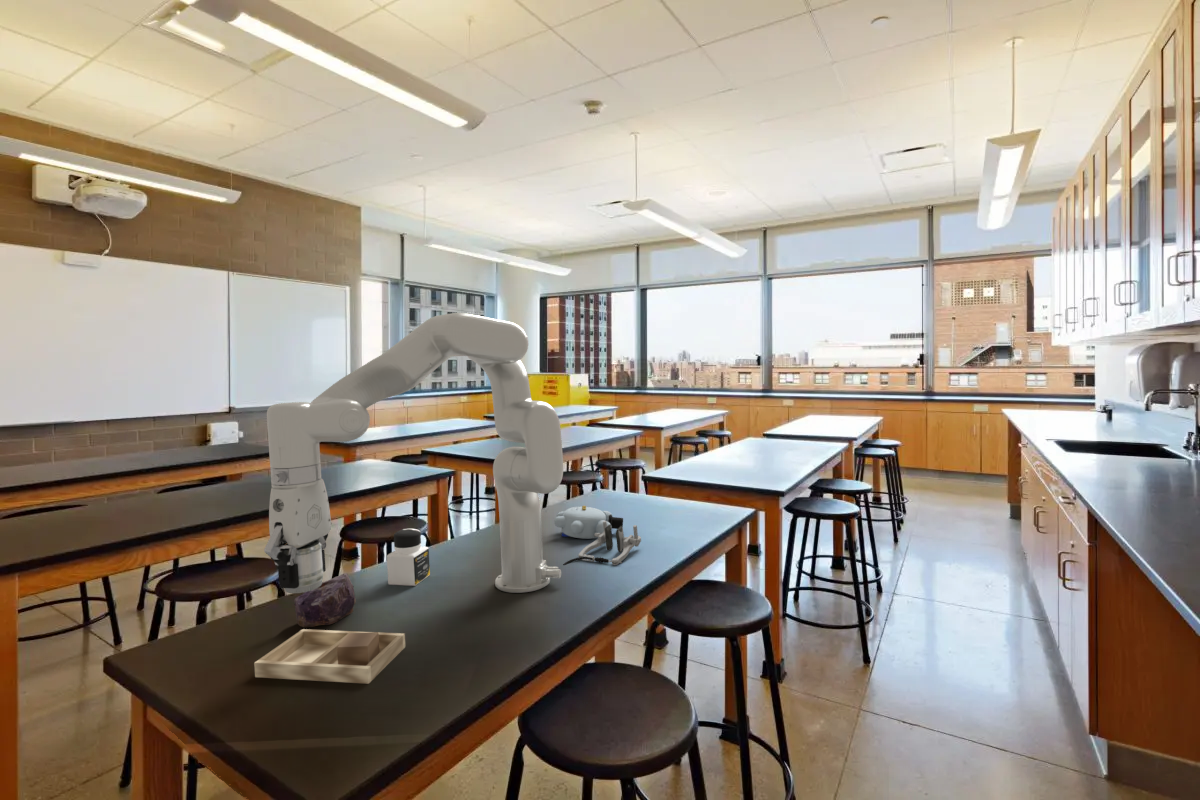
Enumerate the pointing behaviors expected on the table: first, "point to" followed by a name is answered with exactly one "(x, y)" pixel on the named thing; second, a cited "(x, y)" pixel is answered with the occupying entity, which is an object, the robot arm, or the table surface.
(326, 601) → the rock
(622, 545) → the bike brake
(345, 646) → the walnut block
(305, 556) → the camera lens
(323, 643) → the caddy
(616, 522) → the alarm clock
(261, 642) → the table surface
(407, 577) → the medicine bottle
